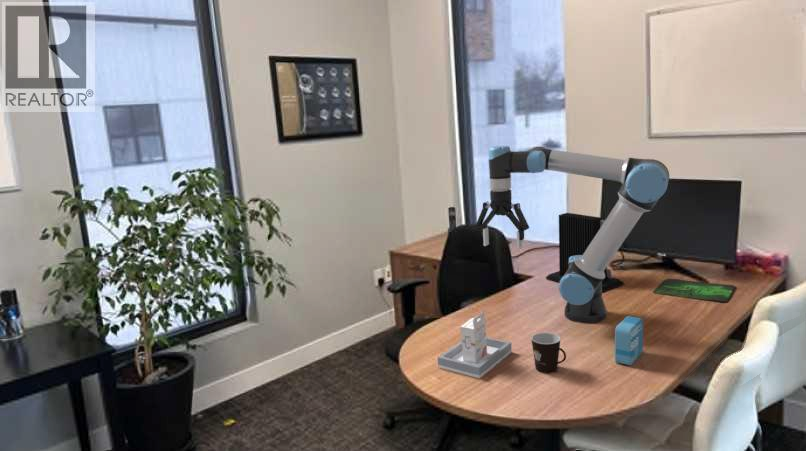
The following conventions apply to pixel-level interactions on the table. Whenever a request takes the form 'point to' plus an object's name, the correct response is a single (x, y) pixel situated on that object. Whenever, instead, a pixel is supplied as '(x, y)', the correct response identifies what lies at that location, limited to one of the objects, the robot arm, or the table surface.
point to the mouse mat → (695, 290)
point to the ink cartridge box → (474, 339)
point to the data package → (628, 340)
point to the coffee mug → (546, 352)
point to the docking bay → (494, 355)
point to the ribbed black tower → (579, 245)
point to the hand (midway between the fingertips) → (502, 247)
